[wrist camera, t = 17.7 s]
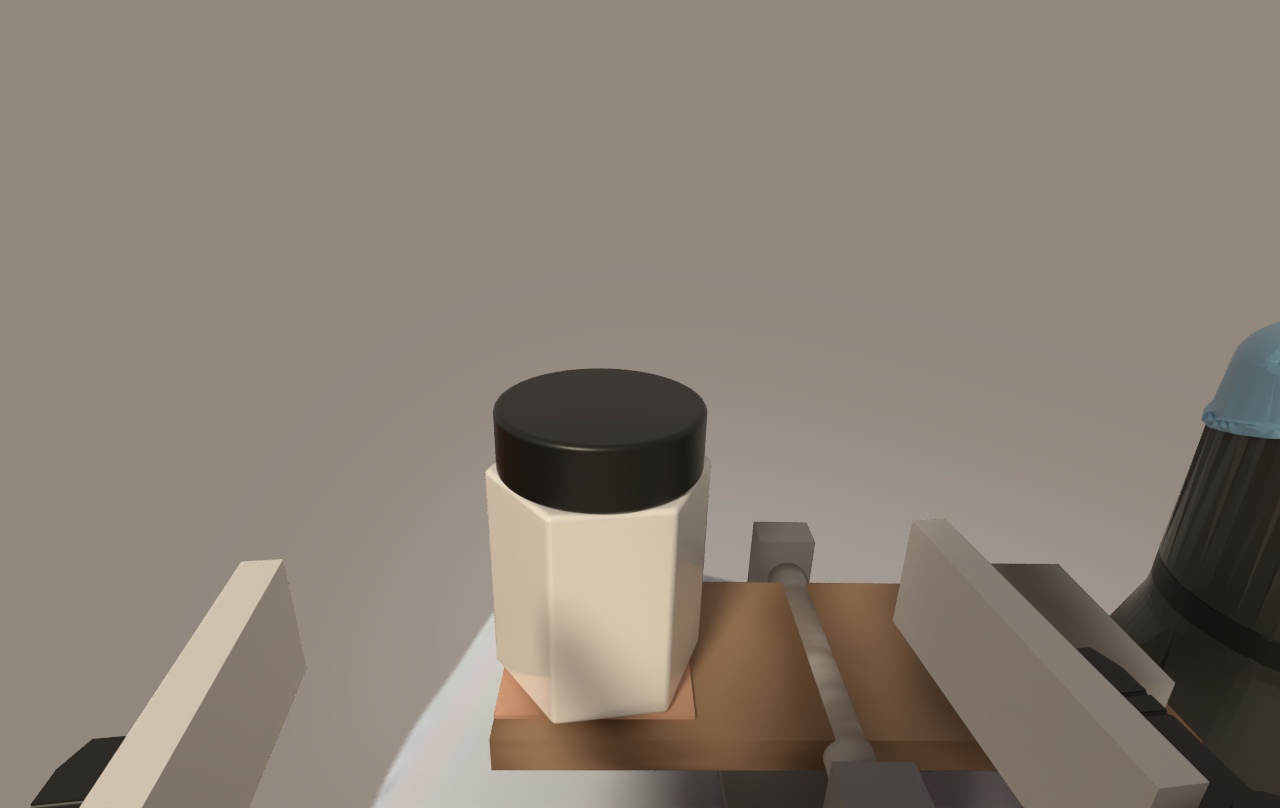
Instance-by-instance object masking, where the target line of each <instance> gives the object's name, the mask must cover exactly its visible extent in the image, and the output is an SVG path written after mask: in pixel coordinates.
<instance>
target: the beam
mask: <svg viewBox="0 0 1280 808" xmlns="http://www.w3.org/2000/svg"><path fill="white" fill-rule="evenodd" d="M991 565H992V566H993V567H994V568H995V569H996V570H997V571H998V572H999V573H1000V574H1001V575H1002V576H1003V577H1004V578H1005V579H1006V580H1007V581H1008V582H1009V583H1010V584H1011V585H1012V586H1013V587H1014V588H1015V589H1016V590H1017V591H1018V592H1019V593H1020V594H1021V595H1022V596H1023V597H1024V598H1025V599H1026V600H1027V601H1028V602H1029V603H1030V604H1031V605H1032V606H1033V607H1034V608H1035V609H1036V610H1037V611H1038V612H1039V613H1040V614H1041V615H1042V616H1043V617H1044V618H1045V619H1046V620H1047V621H1048V622H1049V623H1050V624H1051V625H1052V626H1053V627H1054V628H1055V629H1056V630H1057V631H1058V632H1059V633H1060V634H1061V635H1062V636H1063V637H1064V638H1065V639H1066V640H1067V641H1068V642H1069V643H1070V644H1071V645H1072V646H1073V647H1074V648H1085V647H1091V648H1092V649H1094V650H1096V651H1097V652H1099V653H1100V654H1102V655H1104V656H1105V657H1107V658H1109V659H1110V660H1112V661H1113V662H1115V663H1117V664H1118V665H1120V666H1121V667H1123V668H1124V669H1125V670H1126V671H1127V672H1128V673H1129V674H1130V675H1131V676H1132V677H1133V678H1134V679H1135V680H1136V681H1137V682H1138V683H1139V684H1140V685H1142V686H1143V687H1144V688H1145V689H1146V692H1147V694H1148V695H1152V696H1153V697H1154V698H1155V699H1156V700H1157V701H1158V702H1159V703H1161V704H1162V705H1163V706H1164V707H1165V708H1166V709H1167V713H1168V714H1169V715H1171V714H1172V715H1173V716H1174V717H1175V718H1176V719H1177V720H1178V721H1180V722H1181V723H1182V724H1183V725H1184V726H1185V727H1186V728H1187V729H1188V730H1189V731H1190V732H1191V733H1192V734H1193V735H1194V736H1195V737H1196V738H1197V739H1198V740H1200V741H1201V742H1203V741H1202V740H1201V739H1200V738H1199V737H1198V736H1197V735H1196V734H1195V733H1194V732H1193V731H1192V729H1191V728H1190V727H1189V726H1188V725H1187V724H1186V723H1185V722H1184V721H1183V720H1182V719H1181V718H1180V717H1179V716H1178V715H1177V713H1176V712H1175V711H1174V710H1173V709H1172V708H1171V707H1170V706H1169V705H1168V704H1167V702H1168V699H1169V697H1170V694H1171V692H1172V690H1173V687H1174V685H1175V682H1174V681H1173V680H1172V679H1171V678H1170V677H1169V676H1168V675H1167V674H1166V673H1165V672H1164V671H1163V670H1162V669H1161V668H1160V667H1159V666H1158V665H1157V664H1156V663H1155V662H1154V661H1153V660H1152V659H1151V658H1150V657H1149V656H1148V655H1147V654H1146V653H1145V652H1144V651H1143V650H1142V649H1141V648H1140V647H1139V646H1138V645H1137V644H1136V643H1135V642H1134V641H1133V640H1132V639H1131V638H1130V637H1129V636H1128V635H1127V634H1126V633H1125V632H1124V630H1123V629H1122V628H1121V627H1120V626H1119V625H1118V624H1117V623H1116V622H1115V621H1114V620H1113V619H1112V618H1111V617H1110V616H1109V615H1108V614H1107V613H1106V612H1105V611H1104V610H1103V609H1102V608H1101V607H1100V606H1099V605H1098V604H1097V603H1096V602H1095V601H1094V600H1093V599H1092V598H1091V597H1090V596H1089V595H1088V594H1087V593H1086V592H1085V591H1084V590H1083V589H1082V588H1081V587H1080V586H1079V585H1078V584H1077V583H1076V582H1075V581H1074V580H1073V579H1072V578H1071V577H1070V576H1069V575H1068V574H1067V573H1066V572H1065V571H1064V570H1063V569H1062V568H1061V566H1060V565H1059V564H991ZM767 581H768V583H760V582H702V595H701V609H700V623H699V637H698V642H697V644H696V646H695V648H694V651H693V653H692V655H691V658H690V660H689V662H688V664H687V667H686V669H685V671H684V674H683V676H682V678H681V681H680V683H679V685H678V687H677V690H676V692H675V694H674V697H673V699H672V701H671V704H670V706H669V708H668V709H667V710H666V711H665V712H660V713H651V714H642V715H633V716H624V717H615V718H607V719H598V720H589V721H580V722H571V723H562V724H554V723H552V722H551V721H550V719H549V718H548V717H547V716H546V715H545V714H544V712H543V711H542V710H541V709H540V708H539V707H538V706H537V704H536V703H535V702H534V701H533V700H532V699H531V697H530V696H529V695H528V694H527V693H526V692H525V690H524V689H523V688H522V687H521V686H520V685H519V684H518V682H517V681H516V680H515V679H514V678H513V677H512V675H511V674H510V673H509V672H508V671H507V670H506V669H505V667H504V671H503V676H502V680H501V685H500V689H499V694H498V698H497V703H496V707H495V712H494V721H493V726H492V730H491V735H490V739H489V740H490V754H491V767H492V770H826V771H827V774H828V778H829V773H830V767H831V762H915V763H916V766H917V768H918V770H919V771H997V769H996V768H995V766H994V765H993V763H992V762H991V761H990V759H989V758H988V756H987V755H986V753H985V752H984V751H983V749H982V748H981V746H980V745H979V743H978V742H977V741H976V739H975V738H974V736H973V735H972V733H971V732H970V731H969V729H968V728H967V726H966V725H965V723H964V722H963V720H962V719H961V718H960V716H959V715H958V713H957V712H956V710H955V709H954V708H953V706H952V705H951V703H950V702H949V700H948V699H947V698H946V696H945V695H944V693H943V692H942V690H941V689H940V688H939V686H938V685H937V683H936V682H935V680H934V679H933V678H932V676H931V675H930V673H929V672H928V670H927V669H926V668H925V666H924V665H923V663H922V662H921V660H920V659H919V658H918V656H917V655H916V653H915V652H914V650H913V649H912V648H911V646H910V645H909V643H908V642H907V640H906V639H905V638H904V636H903V635H902V633H901V632H900V630H899V629H898V628H897V626H896V625H895V623H894V622H893V617H894V612H895V607H896V602H897V597H898V592H899V587H900V584H872V583H871V584H870V583H869V584H868V583H863V584H862V583H807V581H806V578H805V576H804V573H803V571H802V569H801V568H800V567H799V566H797V565H796V564H793V563H782V564H779V565H777V566H775V567H774V568H772V570H771V571H770V572H769V574H768V578H767Z"/></svg>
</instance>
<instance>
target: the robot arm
mask: <svg viewBox="0 0 1280 808" xmlns="http://www.w3.org/2000/svg"><path fill="white" fill-rule="evenodd" d="M1202 421H1203V422H1205V424H1206V425H1205V428H1204V431H1203V433H1202V436H1201V439H1200V442H1199V444H1198V447H1197V450H1196V452H1195V455H1194V457H1193V460H1192V463H1191V465H1190V468H1189V470H1188V473H1187V476H1186V478H1185V481H1184V484H1183V486H1182V489H1181V492H1180V494H1179V497H1178V499H1177V502H1176V505H1175V507H1174V510H1173V512H1172V515H1171V518H1170V520H1169V523H1168V525H1167V528H1166V531H1165V533H1164V536H1163V539H1162V541H1161V544H1160V547H1159V550H1158V553H1157V555H1156V558H1155V561H1154V563H1153V566H1152V569H1151V571H1150V573H1149V575H1148V577H1147V578H1146V580H1145V581H1144V582H1143V583H1142V584H1141V585H1140V586H1139V587H1138V588H1137V589H1136V590H1135V591H1134V592H1133V593H1132V594H1131V595H1130V596H1129V597H1128V598H1127V599H1126V600H1125V601H1124V602H1123V603H1122V604H1121V605H1120V606H1119V607H1118V608H1117V609H1116V610H1115V611H1114V612H1113V613H1112V614H1111V615H1110V617H1111V618H1112V619H1113V620H1114V621H1115V622H1116V623H1117V624H1118V625H1119V626H1120V627H1121V628H1122V629H1123V630H1124V632H1125V633H1126V634H1127V635H1128V636H1129V637H1130V638H1131V639H1132V640H1133V641H1134V642H1135V643H1136V644H1137V645H1138V646H1139V647H1140V648H1141V649H1142V650H1143V651H1144V652H1145V653H1146V654H1147V655H1148V656H1149V657H1150V658H1151V659H1152V660H1153V661H1154V662H1155V663H1156V664H1157V665H1158V666H1159V667H1160V668H1161V669H1162V670H1163V671H1164V672H1165V673H1166V674H1167V675H1168V676H1169V677H1170V678H1171V679H1172V680H1173V681H1174V682H1175V685H1174V687H1173V690H1172V692H1171V694H1170V697H1169V699H1168V702H1167V704H1168V705H1169V706H1170V707H1171V708H1172V709H1173V710H1174V711H1175V712H1176V713H1177V715H1178V716H1179V717H1180V718H1181V719H1182V720H1183V721H1184V722H1185V723H1186V724H1187V725H1188V726H1189V727H1190V728H1191V729H1192V731H1193V732H1194V733H1195V734H1196V735H1197V736H1198V737H1199V738H1200V739H1201V740H1202V741H1203V742H1201V741H1200V740H1198V739H1197V738H1196V737H1195V736H1194V735H1193V734H1192V733H1191V732H1190V731H1189V730H1188V729H1187V728H1186V727H1185V726H1184V725H1183V724H1182V723H1181V722H1180V721H1178V720H1177V719H1176V718H1175V717H1174V716H1173V715H1172V714H1171V715H1169V714H1168V713H1167V709H1166V708H1165V707H1164V706H1163V705H1162V704H1161V703H1159V702H1158V701H1157V700H1156V699H1155V698H1154V697H1153V696H1152V695H1148V694H1147V692H1146V689H1145V688H1144V687H1143V686H1142V685H1140V684H1139V683H1138V682H1137V681H1136V680H1135V679H1134V678H1133V677H1132V676H1131V675H1130V674H1129V673H1128V672H1127V671H1126V670H1125V669H1124V668H1123V667H1121V666H1120V665H1118V664H1117V663H1115V662H1113V661H1112V660H1110V659H1109V658H1107V657H1105V656H1104V655H1102V654H1100V653H1099V652H1097V651H1096V650H1094V649H1092V648H1091V647H1085V648H1074V647H1073V646H1072V645H1071V644H1070V643H1069V642H1068V641H1067V640H1066V639H1065V638H1064V637H1063V636H1062V635H1061V634H1060V633H1059V632H1058V631H1057V630H1056V629H1055V628H1054V627H1053V626H1052V625H1051V624H1050V623H1049V622H1048V621H1047V620H1046V619H1045V618H1044V617H1043V616H1042V615H1041V614H1040V613H1039V612H1038V611H1037V610H1036V609H1035V608H1034V607H1033V606H1032V605H1031V604H1030V603H1029V602H1028V601H1027V600H1026V599H1025V598H1024V597H1023V596H1022V595H1021V594H1020V593H1019V592H1018V591H1017V590H1016V589H1015V588H1014V587H1013V586H1012V585H1011V584H1010V583H1009V582H1008V581H1007V580H1006V579H1005V578H1004V577H1003V576H1002V575H1001V574H1000V573H999V572H998V571H997V570H996V569H995V568H994V567H993V566H992V565H991V564H990V563H989V562H988V561H987V560H986V559H985V558H984V557H983V556H982V555H981V554H980V553H979V552H978V551H977V550H976V549H975V548H974V547H973V546H972V545H971V544H970V543H969V542H968V541H967V540H966V539H965V538H964V537H963V536H962V535H961V534H960V533H959V532H958V531H957V530H956V529H955V528H954V527H953V526H952V525H951V524H950V523H949V522H948V521H947V520H946V519H931V520H914V521H912V526H911V531H910V536H909V542H908V547H907V552H906V557H905V562H904V567H903V572H902V577H901V582H900V587H899V592H898V597H897V602H896V607H895V612H894V617H893V622H894V623H895V625H896V626H897V628H898V629H899V630H900V632H901V633H902V635H903V636H904V638H905V639H906V640H907V642H908V643H909V645H910V646H911V648H912V649H913V650H914V652H915V653H916V655H917V656H918V658H919V659H920V660H921V662H922V663H923V665H924V666H925V668H926V669H927V670H928V672H929V673H930V675H931V676H932V678H933V679H934V680H935V682H936V683H937V685H938V686H939V688H940V689H941V690H942V692H943V693H944V695H945V696H946V698H947V699H948V700H949V702H950V703H951V705H952V706H953V708H954V709H955V710H956V712H957V713H958V715H959V716H960V718H961V719H962V720H963V722H964V723H965V725H966V726H967V728H968V729H969V731H970V732H971V733H972V735H973V736H974V738H975V739H976V741H977V742H978V743H979V745H980V746H981V748H982V749H983V751H984V752H985V753H986V755H987V756H988V758H989V759H990V761H991V762H992V763H993V765H994V766H995V768H996V769H997V771H998V772H999V773H1000V775H1001V776H1002V778H1003V779H1004V781H1005V782H1006V783H1007V785H1008V786H1009V788H1010V789H1011V791H1012V792H1013V793H1014V795H1015V796H1016V798H1017V799H1018V801H1019V802H1020V803H1021V805H1022V806H1023V808H1280V322H1278V323H1274V324H1271V325H1269V326H1266V327H1264V328H1262V329H1260V330H1258V331H1256V332H1254V333H1253V334H1251V335H1250V336H1249V337H1247V338H1246V339H1245V340H1244V341H1243V342H1242V343H1241V344H1240V345H1239V346H1238V348H1237V350H1236V351H1235V353H1234V355H1233V357H1232V359H1231V361H1230V363H1229V366H1228V368H1227V370H1226V372H1225V375H1224V377H1223V379H1222V381H1221V384H1220V386H1219V388H1218V390H1217V393H1216V395H1215V397H1214V399H1213V400H1212V401H1211V402H1210V403H1209V404H1208V405H1207V406H1206V407H1205V408H1204V411H1203V415H1202ZM306 669H307V668H306V664H305V659H304V654H303V650H302V645H301V640H300V636H299V631H298V626H297V622H296V617H295V613H294V608H293V603H292V598H291V594H290V590H289V584H288V580H287V575H286V570H285V566H284V561H283V559H278V560H261V561H245V562H241V563H240V564H239V566H238V568H237V569H236V571H235V572H234V574H233V575H232V577H231V578H230V580H229V581H228V583H227V584H226V586H225V587H224V589H223V591H222V592H221V594H220V595H219V596H218V598H217V599H216V601H215V602H214V604H213V606H212V607H211V609H210V610H209V612H208V613H207V615H206V616H205V618H204V619H203V621H202V622H201V624H200V625H199V627H198V628H197V630H196V632H195V633H194V634H193V636H192V637H191V639H190V640H189V642H188V644H187V645H186V647H185V648H184V650H183V651H182V653H181V654H180V656H179V657H178V659H177V660H176V662H175V663H174V665H173V666H172V668H171V669H170V671H169V672H168V674H167V675H166V677H165V678H164V680H163V682H162V683H161V684H160V686H159V688H158V689H157V691H156V692H155V694H154V695H153V697H152V698H151V700H150V701H149V703H148V704H147V706H146V707H145V709H144V711H143V712H142V713H141V715H140V717H139V718H138V720H137V721H136V723H135V724H134V725H133V727H132V729H131V730H130V732H129V733H128V735H127V736H121V737H110V738H99V739H92V740H91V741H90V742H88V743H87V744H86V745H85V746H84V747H82V748H81V749H80V750H79V751H78V752H76V753H75V754H74V755H73V756H72V757H71V758H69V759H68V760H67V761H66V762H65V763H63V764H62V765H61V766H60V767H59V768H58V769H56V770H55V772H54V773H53V775H52V776H51V777H50V779H49V780H48V782H47V783H46V784H45V786H44V787H43V788H42V790H41V791H40V792H39V794H38V795H37V797H36V798H35V799H34V801H33V802H32V803H31V808H249V806H250V804H251V801H252V799H253V796H254V794H255V792H256V789H257V787H258V784H259V782H260V779H261V777H262V775H263V772H264V770H265V767H266V765H267V762H268V760H269V758H270V755H271V753H272V751H273V748H274V746H275V743H276V741H277V739H278V736H279V734H280V731H281V729H282V726H283V724H284V722H285V719H286V716H287V714H288V712H289V709H290V707H291V705H292V702H293V700H294V697H295V695H296V693H297V690H298V688H299V685H300V683H301V680H302V678H303V676H304V673H305V671H306Z"/></svg>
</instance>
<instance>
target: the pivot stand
mask: <svg viewBox="0 0 1280 808" xmlns="http://www.w3.org/2000/svg"><path fill="white" fill-rule="evenodd" d="M814 546H815V541H814V539H813V537H812V534H811V532H810V530H809V528H808V526H807V523H797V522H754V525H753V535H752V544H751V553H750V563H749V572H748V581H747V582H760V583H768V581H767V578H768V574H769V572H770V571H771V570H772V568H774V567H775V566H777V565H779V564H782V563H793V564H796V565H797V566H799V567H800V568H801V569H802V571H803V573H804V576H805V578H806V581H807V583H809V580H810V573H811V566H812V560H813V552H814ZM718 776H719V783H720V790H721V797H722V804H723V808H936V807H935V805H934V803H933V801H932V799H931V796H930V794H929V792H928V790H927V788H926V785H925V783H924V781H923V779H922V777H921V774H920V772H919V770H918V768H917V766H916V763H915V762H831V767H830V773H829V778H828V774H827V771H826V770H718Z"/></svg>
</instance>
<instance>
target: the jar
mask: <svg viewBox="0 0 1280 808" xmlns="http://www.w3.org/2000/svg"><path fill="white" fill-rule="evenodd" d="M493 420H494V437H495V454H496V463H494V464H493V465H492V466H490V467H489V468H488V469H487V470H486V472H485V480H486V495H487V510H488V525H489V540H490V555H491V571H492V586H493V602H494V618H495V633H496V648H497V658H498V660H499V662H500V663H501V664H502V665H503V666H504V667H505V669H506V670H507V671H508V672H509V673H510V674H511V675H512V677H513V678H514V679H515V680H516V681H517V682H518V684H519V685H520V686H521V687H522V688H523V689H524V690H525V692H526V693H527V694H528V695H529V696H530V697H531V699H532V700H533V701H534V702H535V703H536V704H537V706H538V707H539V708H540V709H541V710H542V711H543V712H544V714H545V715H546V716H547V717H548V718H549V719H550V721H551V722H552V723H554V724H562V723H571V722H580V721H589V720H598V719H607V718H615V717H624V716H633V715H642V714H651V713H660V712H665V711H666V710H667V709H668V708H669V706H670V704H671V701H672V699H673V697H674V694H675V692H676V690H677V687H678V685H679V683H680V681H681V678H682V676H683V674H684V671H685V669H686V667H687V664H688V662H689V660H690V658H691V655H692V653H693V651H694V648H695V646H696V644H697V642H698V637H699V623H700V609H701V595H702V581H703V567H704V553H705V539H706V525H707V511H708V497H709V482H710V468H711V461H710V459H709V458H708V457H706V456H705V438H706V425H707V408H706V405H705V403H704V401H703V400H702V398H701V397H700V396H699V395H698V394H697V393H696V392H695V391H693V390H692V389H690V388H689V387H687V386H685V385H683V384H681V383H679V382H677V381H674V380H671V379H668V378H665V377H662V376H658V375H654V374H650V373H644V372H639V371H631V370H621V369H577V370H567V371H561V372H555V373H549V374H545V375H540V376H537V377H534V378H531V379H528V380H525V381H523V382H520V383H518V384H516V385H514V386H513V387H511V388H509V389H508V390H506V391H505V392H504V393H503V394H502V395H501V396H500V397H499V398H498V400H497V401H496V403H495V405H494V410H493Z"/></svg>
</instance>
